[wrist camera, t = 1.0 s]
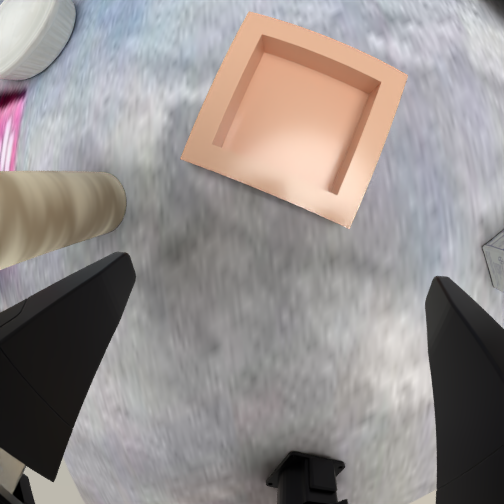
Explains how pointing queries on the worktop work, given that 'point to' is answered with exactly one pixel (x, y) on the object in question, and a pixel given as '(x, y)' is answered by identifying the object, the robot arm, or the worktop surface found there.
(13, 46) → the ramekin
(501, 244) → the medicine box
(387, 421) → the worktop surface
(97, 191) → the vase
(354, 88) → the tray
